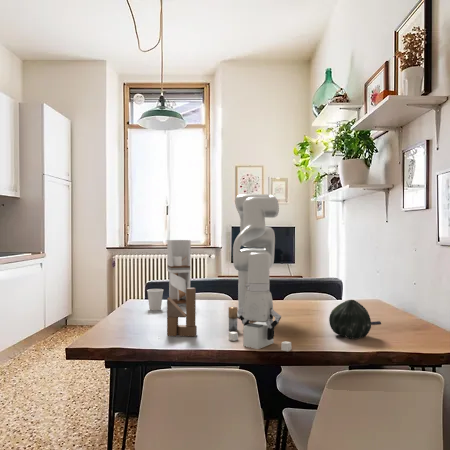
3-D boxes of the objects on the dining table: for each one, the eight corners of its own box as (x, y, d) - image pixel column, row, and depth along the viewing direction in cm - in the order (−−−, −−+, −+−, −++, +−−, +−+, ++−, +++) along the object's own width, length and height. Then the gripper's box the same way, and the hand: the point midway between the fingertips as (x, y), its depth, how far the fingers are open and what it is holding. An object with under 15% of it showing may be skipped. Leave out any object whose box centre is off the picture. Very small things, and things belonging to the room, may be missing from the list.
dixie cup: (162, 311, 208) (162, 291, 208) (145, 311, 208) (145, 290, 208) (164, 308, 216) (164, 288, 217) (148, 308, 217) (148, 288, 217)
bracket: (360, 318, 194) (360, 312, 194) (381, 325, 180) (381, 318, 180) (332, 320, 189) (332, 314, 189) (352, 327, 175) (352, 321, 175)
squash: (342, 315, 170) (332, 290, 162) (379, 322, 160) (371, 295, 153) (330, 344, 162) (319, 319, 154) (368, 352, 152) (359, 326, 144)
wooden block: (169, 334, 161) (169, 287, 161) (196, 334, 160) (196, 287, 160) (166, 336, 157) (166, 288, 158) (194, 337, 156) (195, 288, 156)
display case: (167, 303, 232) (167, 240, 233) (185, 302, 236) (186, 239, 236) (170, 306, 222) (171, 240, 222) (190, 305, 225) (190, 240, 225)
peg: (232, 328, 170) (232, 306, 170) (239, 330, 168) (239, 307, 168) (226, 330, 167) (226, 307, 167) (233, 331, 165) (233, 308, 165)
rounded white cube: (232, 338, 154) (232, 331, 154) (237, 339, 153) (237, 332, 153) (228, 339, 152) (228, 332, 152) (233, 340, 151) (233, 333, 151)
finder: (259, 340, 152) (259, 320, 152) (273, 343, 148) (273, 322, 148) (243, 346, 144) (243, 324, 144) (258, 349, 140) (258, 327, 140)
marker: (285, 348, 141) (285, 341, 141) (291, 349, 139) (291, 342, 139) (281, 350, 139) (281, 342, 139) (287, 351, 137) (287, 343, 137)
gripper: (232, 286, 148) (232, 335, 148) (274, 291, 138) (274, 343, 137) (244, 284, 154) (244, 331, 154) (285, 288, 144) (285, 338, 143)
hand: (258, 337), depth 146 cm, fingers open, 9 cm apart
